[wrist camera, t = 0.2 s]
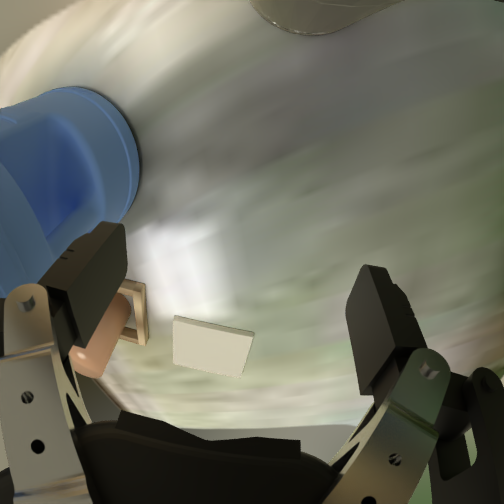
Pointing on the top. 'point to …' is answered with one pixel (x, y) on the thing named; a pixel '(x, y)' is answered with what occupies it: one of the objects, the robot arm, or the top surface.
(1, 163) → the water jug
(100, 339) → the pillar candle
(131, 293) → the wooden frame
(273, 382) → the top surface
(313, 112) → the top surface
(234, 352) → the mat
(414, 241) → the top surface
